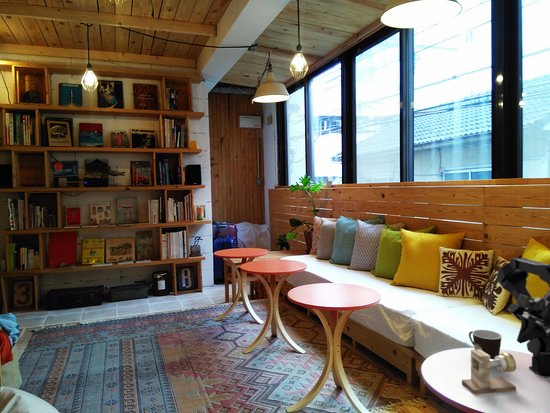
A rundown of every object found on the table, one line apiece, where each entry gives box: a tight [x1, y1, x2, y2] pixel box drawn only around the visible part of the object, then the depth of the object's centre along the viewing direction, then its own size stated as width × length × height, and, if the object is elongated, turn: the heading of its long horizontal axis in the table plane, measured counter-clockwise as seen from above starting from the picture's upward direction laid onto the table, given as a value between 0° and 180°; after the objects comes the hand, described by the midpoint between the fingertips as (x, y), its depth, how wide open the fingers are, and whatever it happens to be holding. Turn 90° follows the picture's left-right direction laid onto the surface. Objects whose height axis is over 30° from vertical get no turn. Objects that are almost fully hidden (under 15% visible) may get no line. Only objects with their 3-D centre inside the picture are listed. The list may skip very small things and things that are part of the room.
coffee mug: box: [468, 329, 502, 369], centre depth 130 cm, size 12×9×10 cm
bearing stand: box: [461, 349, 517, 395], centre depth 113 cm, size 13×6×10 cm, turn 96°
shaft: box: [490, 352, 517, 373], centre depth 114 cm, size 9×5×5 cm, turn 96°
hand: (518, 341), depth 114 cm, fingers closed
